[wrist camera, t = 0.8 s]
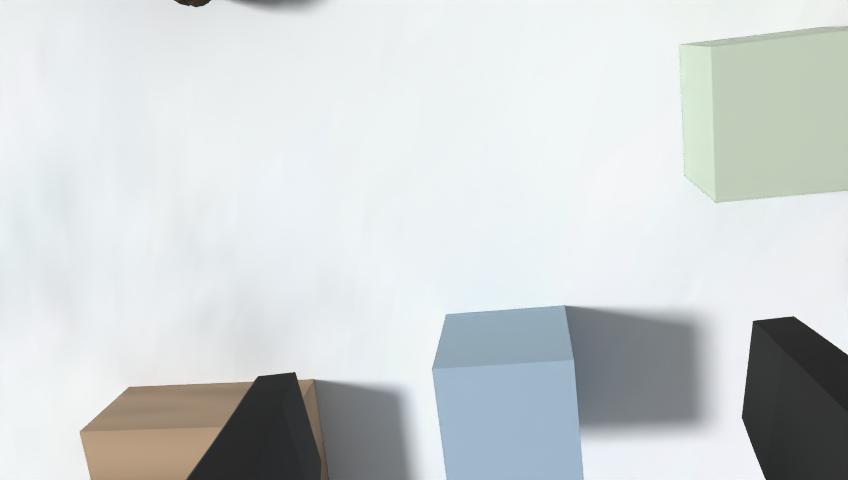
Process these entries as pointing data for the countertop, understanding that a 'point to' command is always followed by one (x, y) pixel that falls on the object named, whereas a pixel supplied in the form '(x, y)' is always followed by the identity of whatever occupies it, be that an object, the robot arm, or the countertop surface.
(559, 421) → the slate block
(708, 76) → the sage block
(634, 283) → the countertop surface
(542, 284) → the countertop surface
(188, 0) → the brick
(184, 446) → the base block
